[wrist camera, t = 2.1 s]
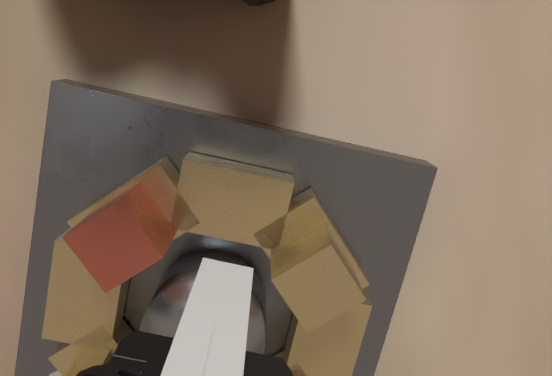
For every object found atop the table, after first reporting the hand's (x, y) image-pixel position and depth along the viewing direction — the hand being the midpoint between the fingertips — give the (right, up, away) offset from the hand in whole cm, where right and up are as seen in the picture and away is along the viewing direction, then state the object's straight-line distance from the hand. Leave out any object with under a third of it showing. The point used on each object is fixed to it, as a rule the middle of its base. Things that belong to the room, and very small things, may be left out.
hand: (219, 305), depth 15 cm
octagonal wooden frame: (-2, -3, +13) cm, 14 cm away
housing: (-2, -2, +15) cm, 16 cm away
